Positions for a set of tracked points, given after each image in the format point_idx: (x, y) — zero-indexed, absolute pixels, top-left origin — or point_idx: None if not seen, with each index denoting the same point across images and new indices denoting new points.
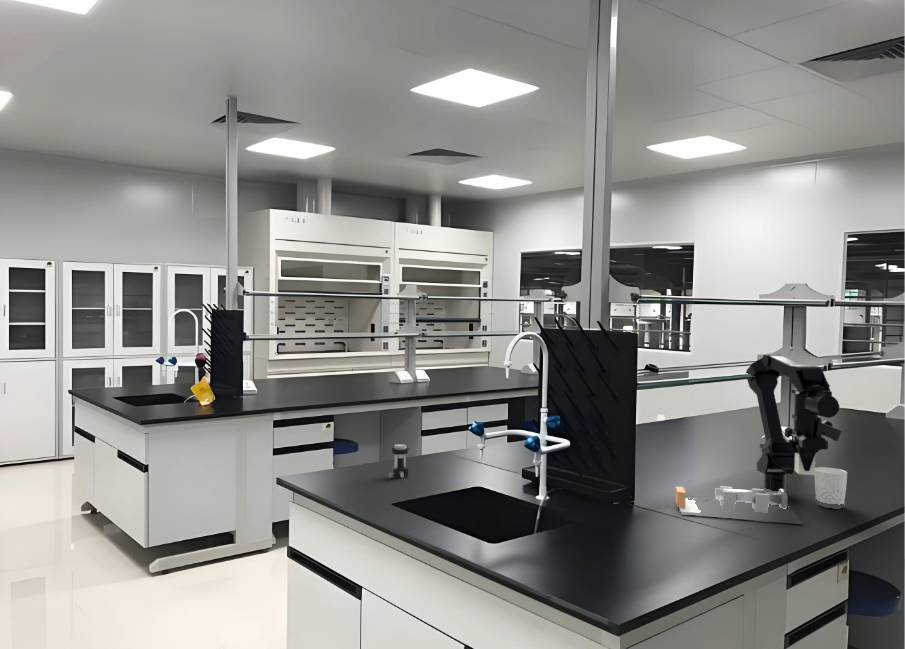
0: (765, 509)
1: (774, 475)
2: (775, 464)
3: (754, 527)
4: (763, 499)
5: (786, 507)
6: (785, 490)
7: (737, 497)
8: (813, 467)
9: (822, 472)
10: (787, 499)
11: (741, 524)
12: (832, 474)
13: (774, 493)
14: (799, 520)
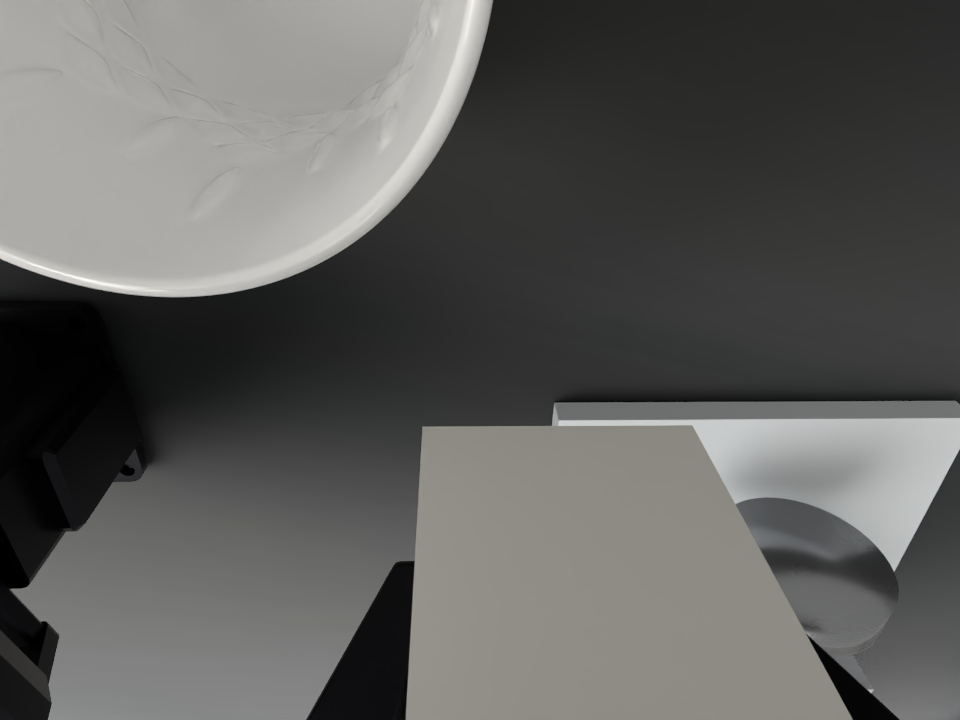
0: None
1: (27, 556)
2: (29, 706)
3: (954, 622)
4: None
5: (825, 512)
6: (873, 629)
7: None
8: (741, 549)
9: (386, 215)
10: (891, 568)
11: (897, 659)
12: (486, 12)
13: None
14: (838, 388)
